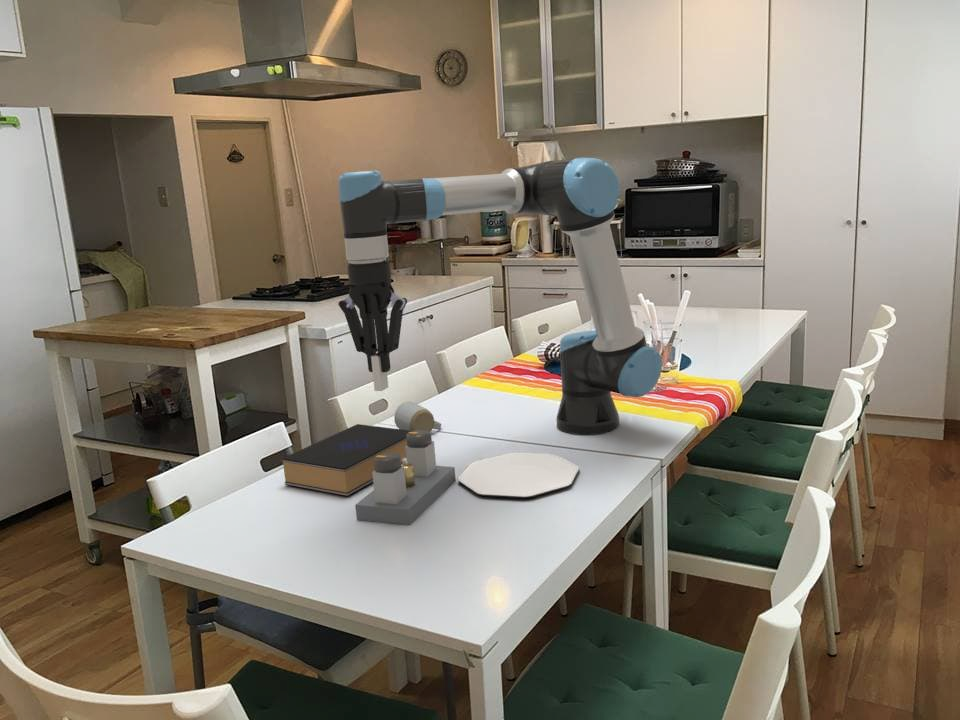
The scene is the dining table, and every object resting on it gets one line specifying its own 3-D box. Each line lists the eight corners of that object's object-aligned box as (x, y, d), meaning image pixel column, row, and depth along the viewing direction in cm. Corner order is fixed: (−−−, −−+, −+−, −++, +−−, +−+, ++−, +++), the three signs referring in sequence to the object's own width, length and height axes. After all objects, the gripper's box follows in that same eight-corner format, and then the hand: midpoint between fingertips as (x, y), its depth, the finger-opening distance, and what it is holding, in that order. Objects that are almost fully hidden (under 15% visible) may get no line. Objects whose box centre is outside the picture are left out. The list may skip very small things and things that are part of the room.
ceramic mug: (412, 441, 195) (409, 410, 193) (394, 434, 202) (392, 404, 200) (448, 431, 201) (446, 401, 199) (430, 424, 208) (428, 395, 206)
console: (455, 480, 168) (452, 439, 166) (409, 524, 148) (405, 478, 146) (407, 477, 172) (403, 436, 170) (356, 519, 152) (351, 474, 150)
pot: (417, 482, 160) (415, 456, 159) (410, 488, 157) (408, 461, 156) (403, 481, 161) (401, 455, 160) (397, 487, 158) (394, 460, 157)
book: (285, 488, 172) (281, 458, 170) (360, 450, 192) (357, 423, 191) (348, 499, 163) (344, 468, 161) (419, 459, 183) (417, 431, 182)
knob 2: (438, 467, 167) (434, 429, 165) (428, 476, 162) (424, 437, 160) (416, 466, 168) (412, 428, 167) (405, 474, 164) (402, 436, 162)
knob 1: (408, 493, 154) (404, 452, 152) (397, 503, 149) (392, 462, 148) (385, 491, 156) (381, 451, 154) (373, 501, 151) (368, 460, 149)
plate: (496, 512, 151) (495, 504, 151) (442, 475, 172) (442, 469, 172) (599, 483, 162) (599, 476, 161) (537, 452, 182) (537, 445, 182)
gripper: (410, 256, 144) (422, 384, 150) (346, 259, 149) (360, 382, 154) (391, 262, 138) (404, 395, 143) (325, 264, 142) (340, 393, 147)
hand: (381, 388), depth 149 cm, fingers closed
